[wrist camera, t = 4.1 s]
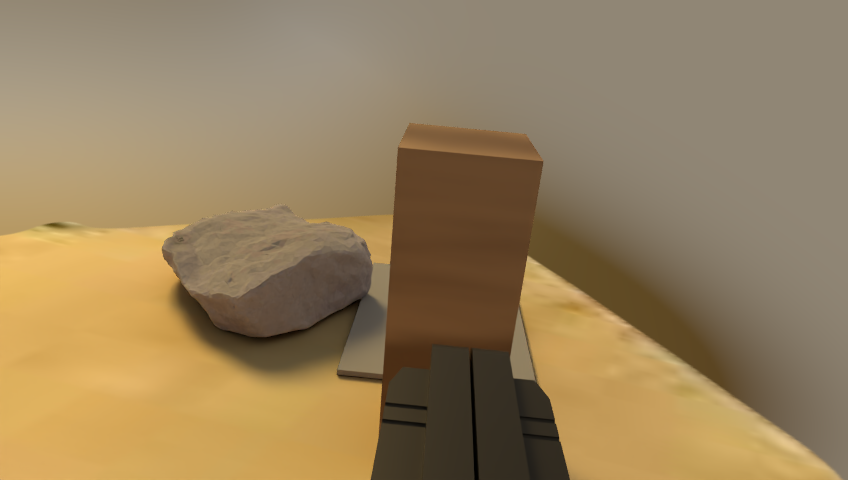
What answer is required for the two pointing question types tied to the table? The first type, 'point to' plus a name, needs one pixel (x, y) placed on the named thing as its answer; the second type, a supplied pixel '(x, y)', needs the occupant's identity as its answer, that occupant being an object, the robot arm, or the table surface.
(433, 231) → the walnut block
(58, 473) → the table surface
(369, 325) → the felt pad
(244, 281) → the stone block
